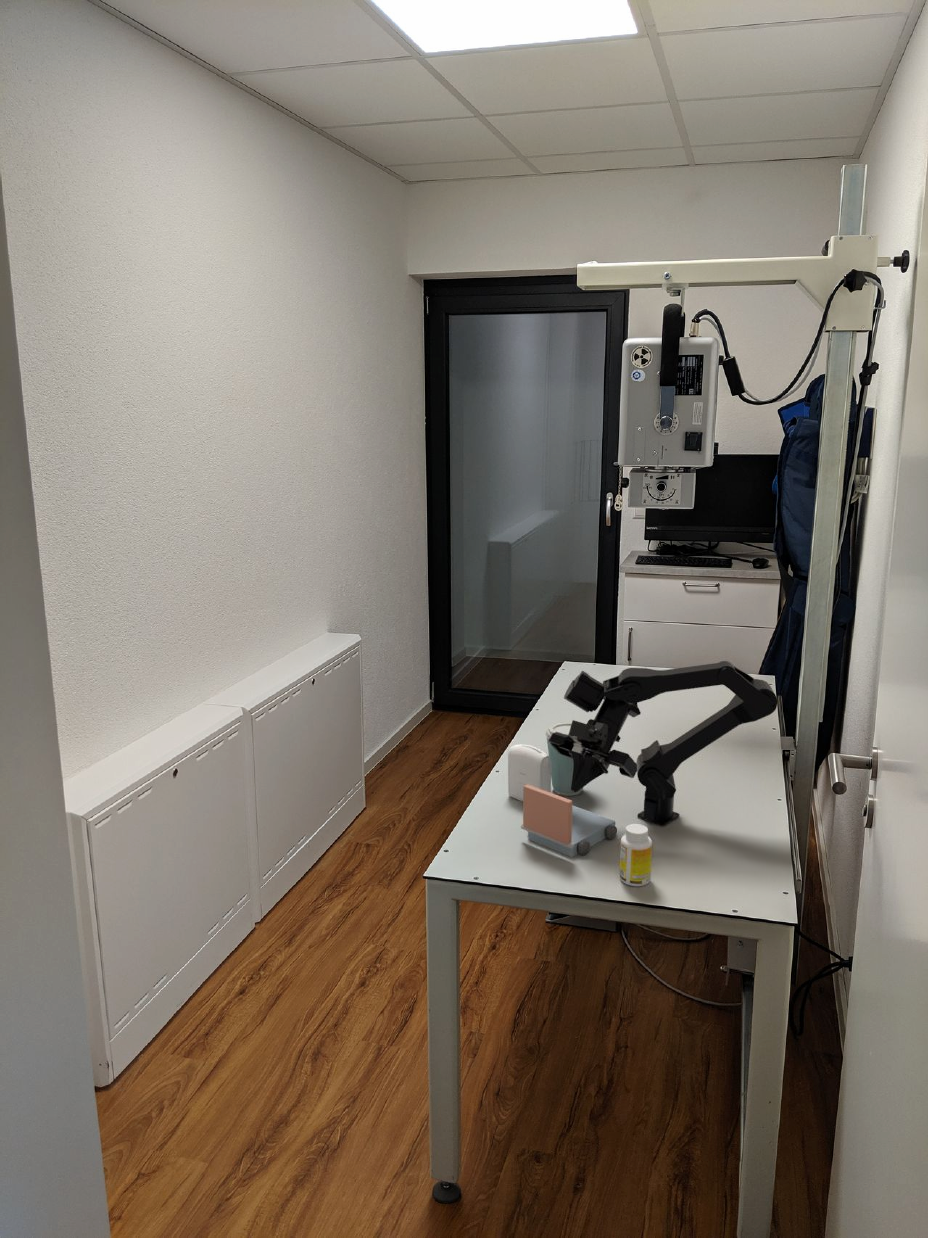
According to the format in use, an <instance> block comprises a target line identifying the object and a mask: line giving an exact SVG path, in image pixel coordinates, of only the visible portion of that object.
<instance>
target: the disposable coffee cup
mask: <svg viewBox="0 0 928 1238" xmlns="http://www.w3.org/2000/svg"><path fill="white" fill-rule="evenodd" d="M571 724H572V721H570V722H559V723H554V724H552V725H551V726H550V727H548V728H547V729H546V731H545V737H546V741H547V742H546V743H547V752H548V756H549V757H550V759H551V787H552V788H553V791H554V792H555V793H556V794H558V795H560V796H568V797H569V796H571V797H572V796H577V795H580V794H581V793H582V791H583V789H584V787H583V788H581V789H580V790H579V791H577V792H576V793H575V792H573V791H572V790H571V784H572V776H573V758H569V757H566V756H563V755H561V754H559V753H558V752H557V751H556V750H555V749H554V748H553V747H552V746H551V745H550V743H549V742H548V740H549V738H550V737H551V735H552V734H553V733H555V732H559V733H562V734H566V735H569V731H570V728H571ZM570 737H571V738H572V739H573V740H574V741H575V742H576V744H580V745H581V744H582V743H581V742H579V741H578V740H577V737H576V736H570ZM585 752H587V751H585ZM588 753H590V752H588Z"/></svg>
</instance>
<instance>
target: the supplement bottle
mask: <svg viewBox="0 0 928 1238" xmlns="http://www.w3.org/2000/svg"><path fill="white" fill-rule="evenodd" d="M652 849H653V840H652V839H651V837H650V836H649V829H648V827H647V826H646V825H644V824H640V823H631V824H628V825H627V826H626V827H625V833H624V834H623V835H622V836H621V839H620V852H619V853H620V855H619V856H620V859H619V879H620V880H621V882H622V883H623V884H625V885H628V886H630V887H643V886H646V885H647V884H649V883H650V881H651V875H652V855H653V850H652Z"/></svg>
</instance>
